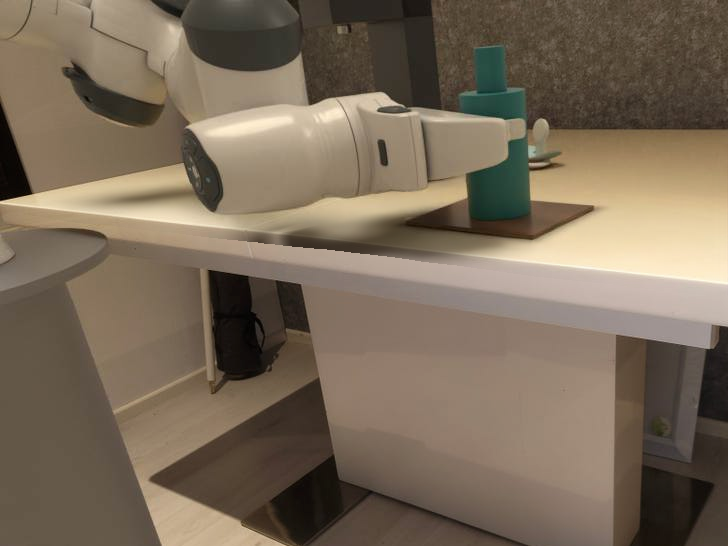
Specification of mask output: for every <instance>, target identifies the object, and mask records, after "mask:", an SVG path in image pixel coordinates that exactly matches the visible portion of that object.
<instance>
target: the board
mask: <svg viewBox="0 0 728 546" xmlns="http://www.w3.org/2000/svg"><path fill="white" fill-rule="evenodd" d="M594 209H595V206H594V205H592V204H578V203H568V202H567V203H566V202H553V201H543V200H540V201H539V200H531V211H530V212H529V213H528V214H526V215H524V216H521V217H517V218H512V219H505V220H480V219H475V218H472V217H470V215H469V209H468V197H467V198H464V199H461V200H458V201H456V202H453V203H450V204H447V205H445V206H441V207H438V208H436V209H434V210H431V211H429V212H426V213H423V214H420V215H417V216H414V217H412V218H410V219H406V220H405V224H406V225H408V226H409V225H410V226H417V227H426V228H435V229H442V230H451V231H460V232H467V233H475V234H484V235H491V236H492V235H493V236H502V237H509V238H517V239H527V240H535V239H536V238H539V237H540V236H543V235H544V234H546V233H549V232H551V231H553V230H555V229H556V228H559V227H561V226H562V225H563V226H564V225H565V224H567V223H569V222H571V221H573V220H575V219H577V218H579V217H581V216H583V215H585V214H587V213H589V212H591V211H593V210H594Z"/></svg>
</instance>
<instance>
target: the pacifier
mask: <svg viewBox="0 0 728 546" xmlns="http://www.w3.org/2000/svg"><path fill="white" fill-rule="evenodd" d="M549 133H550V126H549V122H548V121H547V120H546V119H544V118H541V117H540V118H538V119H537V120H536V121H535V122H534V124H533V127H532V140H533V141H534V145H529V144H528V156H529V169H539V168H544V167H547V166H550V165H551V159H554V158H557V157H559V156H560V155H562V154H563V150H562V149H554V150H550V151H547V141H546V140H547V139H548V136H549Z"/></svg>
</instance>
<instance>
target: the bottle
mask: <svg viewBox="0 0 728 546" xmlns="http://www.w3.org/2000/svg"><path fill="white" fill-rule="evenodd" d="M472 50H473V63H474V75H475V76H474V77H475V87H476V88H475V89H476V90H470V91H464V92H460V93H459V94H458V105H459V113H464V114H471V115H479V116H486V117H494V118H502V119H510V118H521V119H524V121H525V128H526V134H525V137H523V138H520V139H515V140H510V141H508V157H507V159H506V160H504V161H503V162H501V163H500V164H498V165H495V166H492V167H488V168H485V169H481V170H477V171H474V172H470V173H466V174H465V184H466V195H467V198H468V209H469V215H470V217H472V218H475V219H480V220H505V219H512V218H517V217H521V216H524V215H526V214H528V213H529V212H530V211H531V201H532V199H531V180H530V168H529V156H528V145H529V138H528V137H529V136H528V116H527V114H528V113H527V96H526V95H527V93H526V88H524V87H508V83H507V64H506V47H505V45H503V44H502V45H490V46H479V47H473V49H472Z"/></svg>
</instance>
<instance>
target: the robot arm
mask: <svg viewBox="0 0 728 546" xmlns="http://www.w3.org/2000/svg"><path fill="white" fill-rule="evenodd" d="M300 20H301V19H300V14H299V13H298V11H297V10H296V9H295V8H294V7H293V5H291V3H289V1H288V0H0V41H3V42H7V43H12V44H16V45H23V46H29V47H35V48H41V49H46V50H49V51H52V52H55V53H58V54H60V55H62V56H63V57H65V58H67V59H69V62H70V63H71V65H72V66H62V67H61V68H60V69H61V74H62V75H63V76H64V77H65V78H67V79H69V81H70V84H71V86H72V89H73V92H74V93H75V95H76V96H77V97H78V99H79V100H80V101H81V103H82V104H83V105H84V106H85V107H86V108H87V109H88V110H89V111H91V112H92V113H94V114H96V115H97V116H98V117H100V118H101V119H102V120H105V121H106V122H108V123H110V124H113V125H116V126H120V127H125V128H140V129H145V128H148V127H153V126H154V125H155V124H156V123H157V122H158V120H159V119H160V118H161V115H162V113H163V112H164V110H165V107H166V104H165V100H166V98H167V95H168V94H169V97H170V98H171V100H172V102H173V104H174V106H175V107H176V108H177V110H178V111H179V113H180V114H181V116H183V117H184V118H185V120H187V122H189V123H191V124H189V125H186V126H185V127H184V128H183V130H182V132H181V139H180V140H181V141H180V142H181V143H180V144H181V145H180V151H181V157H182V161H183V166H184V169H185V173H186V176H187V178H188V181H189V183H190V185H191V187H192V189H193V191H194V194H195V196H196V198H197V199H198V200H199V202H200V203H201V204H202V205H203V206H204V207H205V208H206V209H207V210H208V211H209V212H211V213H212V214H216V215H228V216H229V215H255V214H266V213H267V214H268V213H274V212H283V211H288V210H289V211H290V210H295V209H300V208H305V207H309V206H311V205H313V204H315V203H317V202H319V201H322V200H325V199H329V198H330V199H331V198H339V199H346V200H347V199H354V198H360V197H365V196H370V195H377V194H384V193H389V192H401V193H413V192H418V191H423V190H426V189H428V187H429V181H428V180H434V181H438V180H439V181H440V180H444V179H449V178H453V177H457V176H462V175H466V173H470V172H474V171H477V170H481V169H485V168H488V167H492V166H495V165H498V164H500V163H501V162H503V161H504V160H506V159H507V157H508V141H510V140H515V139H520V138H523V137H525V134H526V128H525V121H524V119H521V118H510V119H502V118H494V117H486V116H479V115H471V114H464V113H460V112H457V111H448V110H443V109H442V110H434V109H427V108H419V107H412V108H405V107H404V106H403V105H401V104H398V103H396V102H394V101H392V100H391V99H390V98H389V97H388V96H387V95H386V94H385V93H383V92H376V91H375V92H368V93H361V94H360V93H359V94H353V95H345V96H344V95H343V96H336V97H335V96H334V97H329V98H325V99H323V100H321V101H319V102H316V103H314V104H311V105H310V104H309V97H308V89H307V84H306V76H305V75H306V74H305V70H304V61H303V55H302V47H303V46H302V36H301V35H302V34H301V33H302V32H301V22H300ZM14 255H15V253H14V251H13V250H12V249H11V248H10V247H9V245H8V244H7V243H6V241H5V240H4V239H3V237H2V236H1V234H0V265H1V264H3V263H5V262H7V261H8V260H10V259H11V258H12V257H13V256H14Z"/></svg>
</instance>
